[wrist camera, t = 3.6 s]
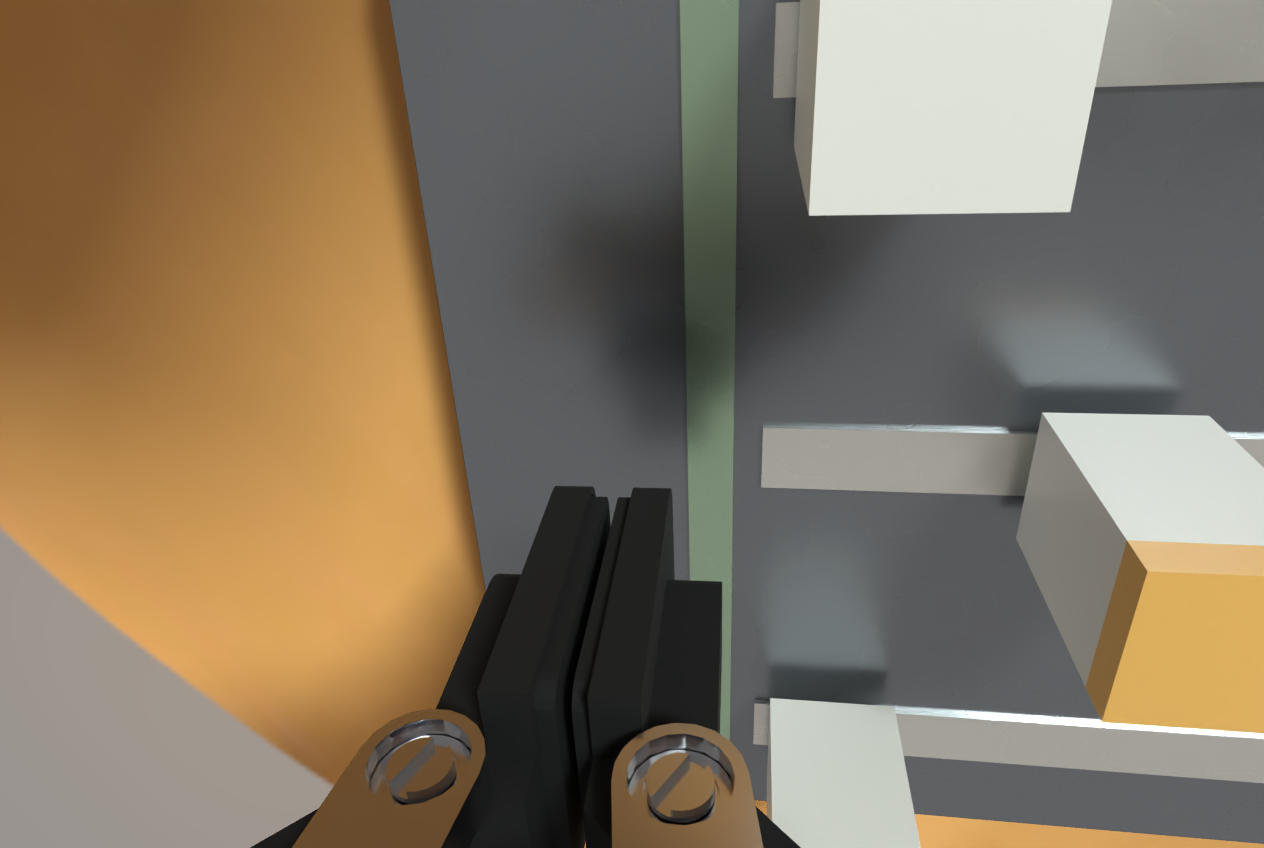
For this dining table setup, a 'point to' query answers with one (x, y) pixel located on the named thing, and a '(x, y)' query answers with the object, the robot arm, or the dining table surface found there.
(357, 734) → the dining table surface
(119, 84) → the dining table surface
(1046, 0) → the block
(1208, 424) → the block
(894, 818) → the block
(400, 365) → the dining table surface
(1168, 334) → the panel
